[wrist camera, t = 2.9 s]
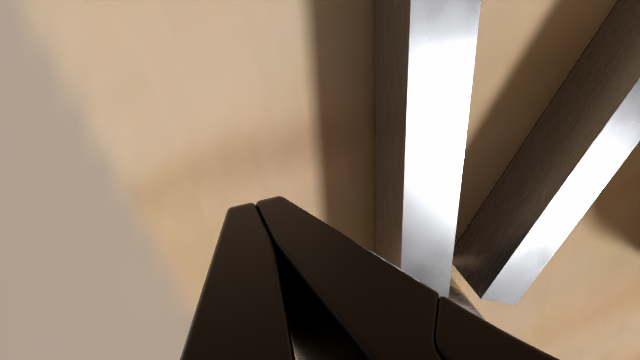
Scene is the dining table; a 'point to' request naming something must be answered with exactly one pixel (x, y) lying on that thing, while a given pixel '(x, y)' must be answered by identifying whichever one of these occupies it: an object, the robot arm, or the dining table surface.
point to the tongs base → (557, 167)
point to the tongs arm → (422, 130)
